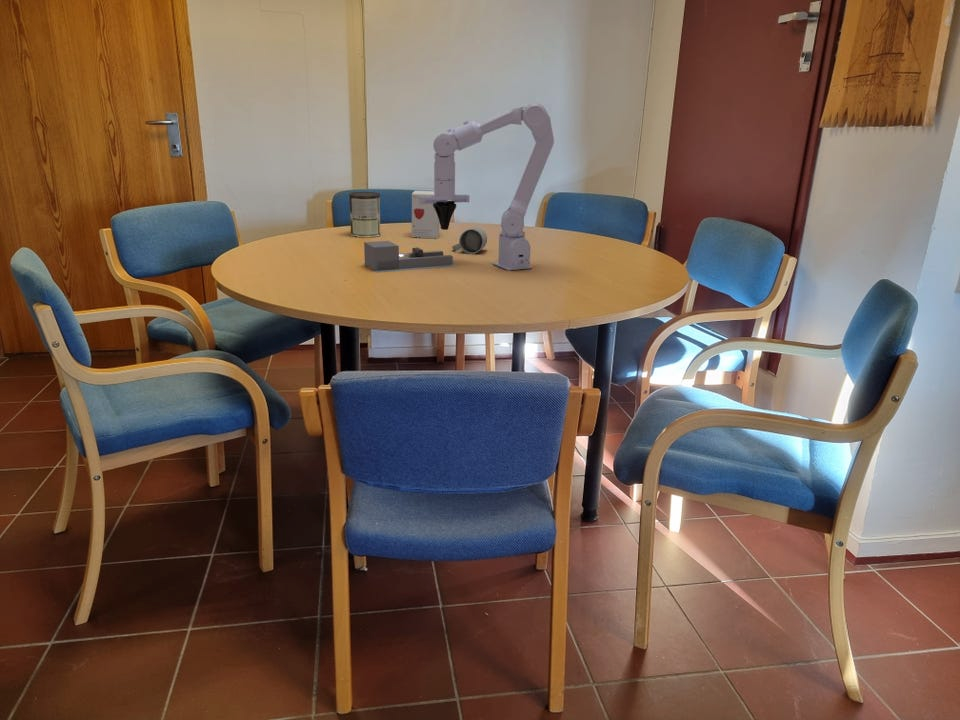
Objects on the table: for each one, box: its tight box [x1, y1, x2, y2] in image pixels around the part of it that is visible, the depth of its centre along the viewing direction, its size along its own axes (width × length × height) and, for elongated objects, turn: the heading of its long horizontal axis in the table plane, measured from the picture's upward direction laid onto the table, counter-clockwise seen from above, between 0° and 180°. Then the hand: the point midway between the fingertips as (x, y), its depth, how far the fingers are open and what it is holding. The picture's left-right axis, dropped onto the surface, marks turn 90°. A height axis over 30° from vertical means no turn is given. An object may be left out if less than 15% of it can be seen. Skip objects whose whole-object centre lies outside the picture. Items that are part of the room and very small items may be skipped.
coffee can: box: [348, 191, 381, 238], centre depth 237 cm, size 10×10×14 cm
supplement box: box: [411, 190, 440, 239], centre depth 239 cm, size 9×9×15 cm
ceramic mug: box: [451, 226, 488, 255], centre depth 217 cm, size 11×8×8 cm
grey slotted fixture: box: [362, 240, 459, 274], centre depth 193 cm, size 12×24×7 cm, turn 117°
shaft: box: [399, 247, 424, 259], centre depth 193 cm, size 4×10×4 cm, turn 117°
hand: (444, 229), depth 196 cm, fingers closed
